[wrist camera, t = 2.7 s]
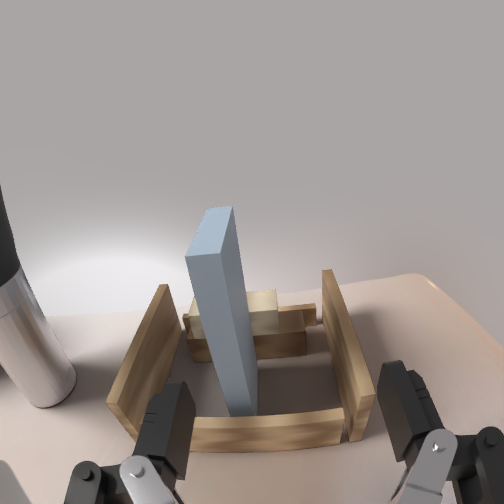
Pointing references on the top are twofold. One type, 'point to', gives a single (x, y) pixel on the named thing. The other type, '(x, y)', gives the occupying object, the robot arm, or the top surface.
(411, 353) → the top surface
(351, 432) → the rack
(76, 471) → the robot arm
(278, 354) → the offcut stack
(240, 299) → the panel
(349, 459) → the top surface
